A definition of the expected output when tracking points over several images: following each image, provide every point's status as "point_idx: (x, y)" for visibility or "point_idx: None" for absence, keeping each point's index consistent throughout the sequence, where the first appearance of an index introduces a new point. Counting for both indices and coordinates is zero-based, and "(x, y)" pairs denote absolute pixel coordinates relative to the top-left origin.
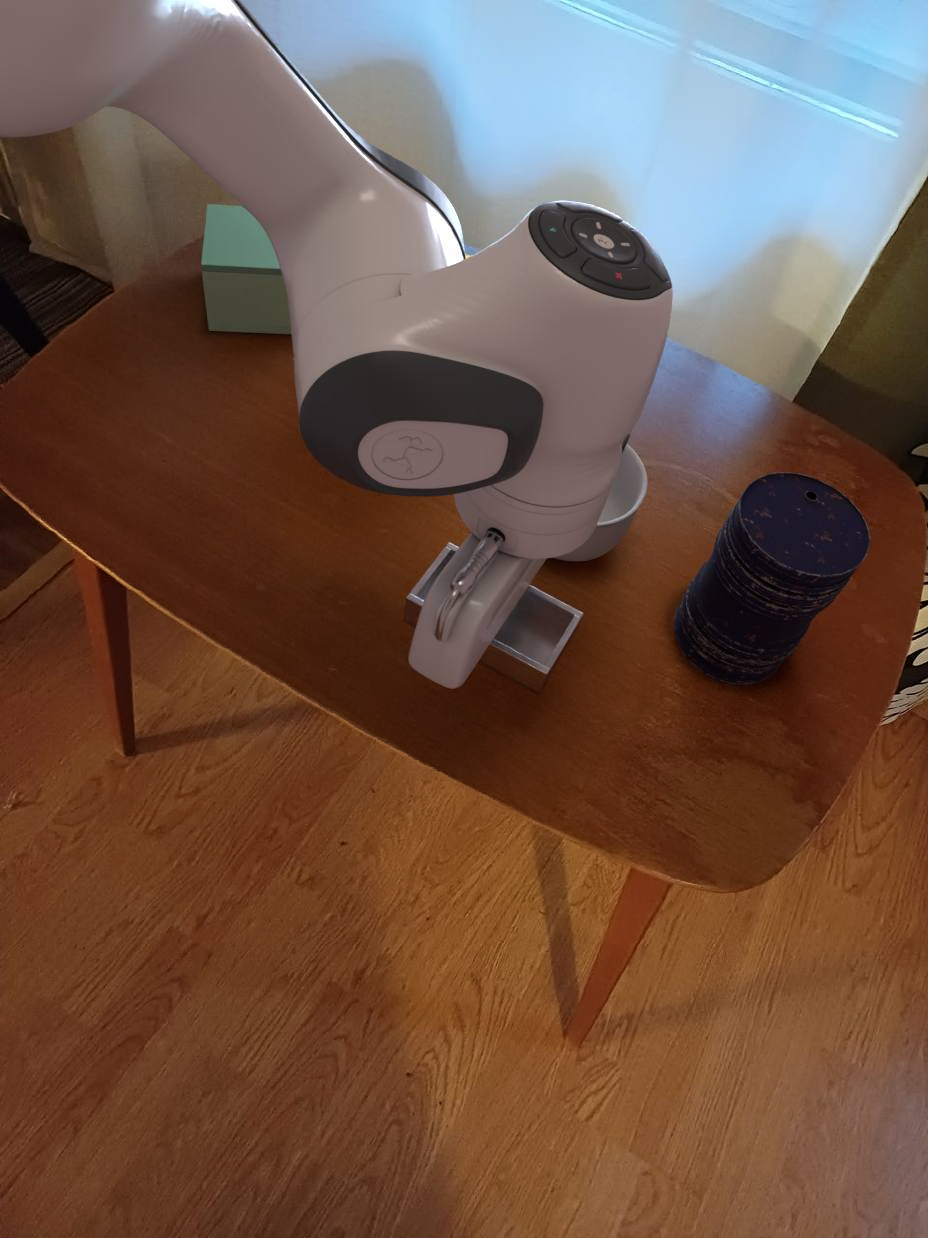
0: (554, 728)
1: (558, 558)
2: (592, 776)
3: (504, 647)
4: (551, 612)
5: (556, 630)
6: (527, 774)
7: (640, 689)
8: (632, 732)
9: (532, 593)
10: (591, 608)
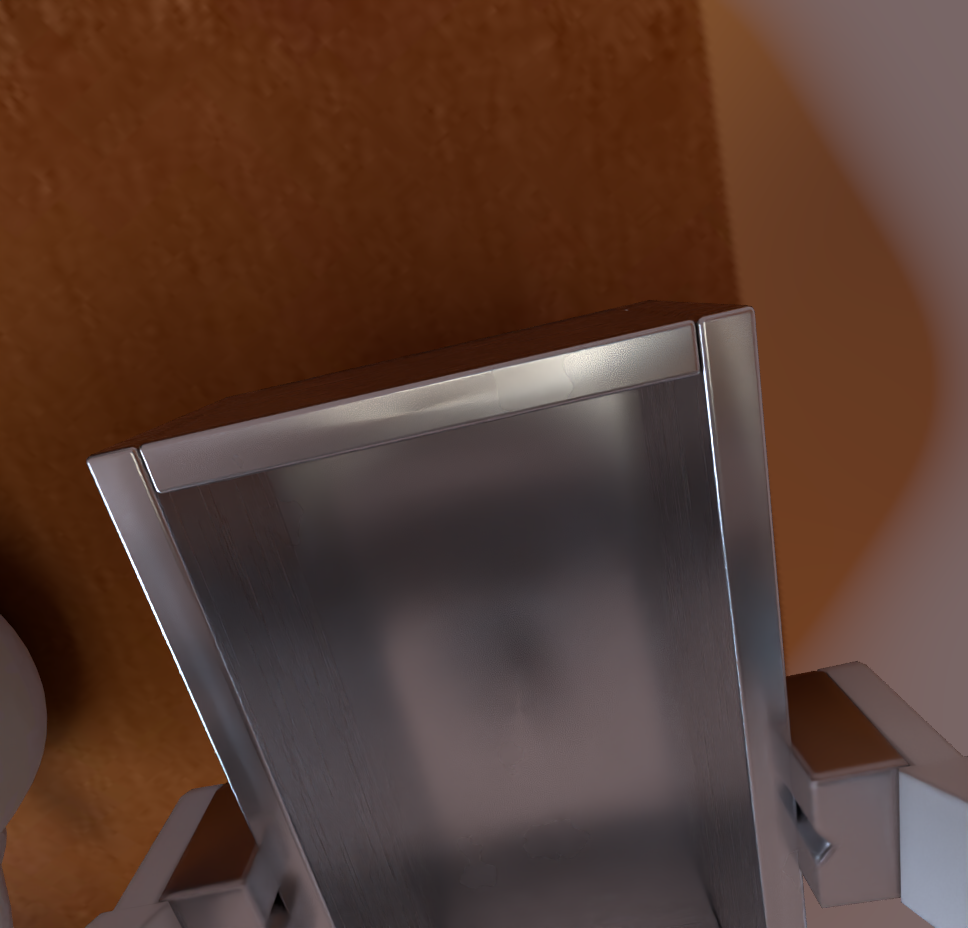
0: (446, 248)
1: (2, 625)
2: (489, 33)
3: (761, 654)
4: (256, 592)
5: (286, 484)
6: (626, 206)
7: (109, 122)
8: (257, 32)
9: (277, 773)
10: (37, 438)
